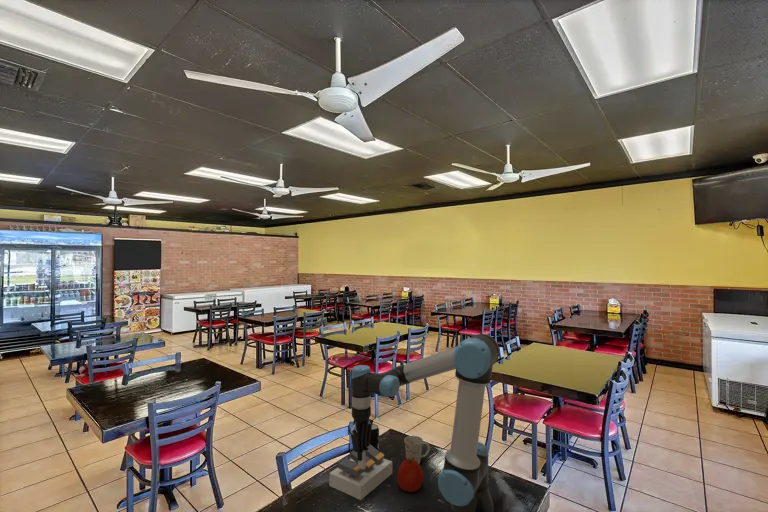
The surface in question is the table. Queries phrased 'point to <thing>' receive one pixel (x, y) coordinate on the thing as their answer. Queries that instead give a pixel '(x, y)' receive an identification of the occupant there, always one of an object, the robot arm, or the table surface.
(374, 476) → the switch unit
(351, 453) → the rocker mid
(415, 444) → the mug
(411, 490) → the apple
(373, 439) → the beverage can
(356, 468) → the rocker left
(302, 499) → the table surface
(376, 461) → the rocker right
